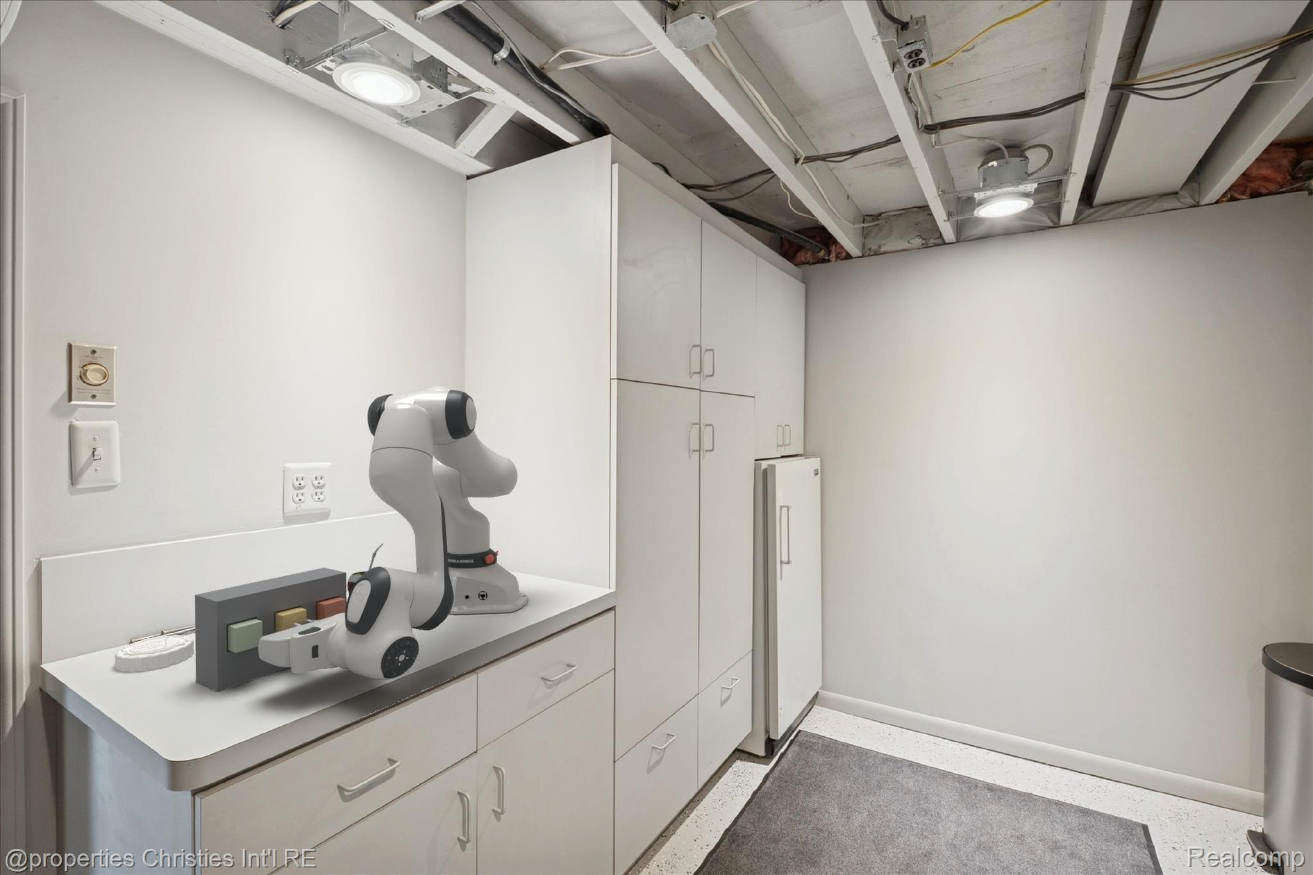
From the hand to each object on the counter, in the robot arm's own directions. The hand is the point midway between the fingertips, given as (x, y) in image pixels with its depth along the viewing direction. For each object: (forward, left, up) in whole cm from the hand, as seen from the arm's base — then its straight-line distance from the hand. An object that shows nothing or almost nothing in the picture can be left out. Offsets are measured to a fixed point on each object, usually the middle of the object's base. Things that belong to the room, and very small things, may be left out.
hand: (299, 625), depth 114 cm
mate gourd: (+11, -42, -9) cm, 45 cm away
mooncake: (+32, -3, -9) cm, 34 cm away
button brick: (-1, -8, -2) cm, 9 cm away
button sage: (+6, +6, -2) cm, 9 cm away
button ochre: (+3, -1, -2) cm, 4 cm away
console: (+7, -3, -9) cm, 12 cm away
